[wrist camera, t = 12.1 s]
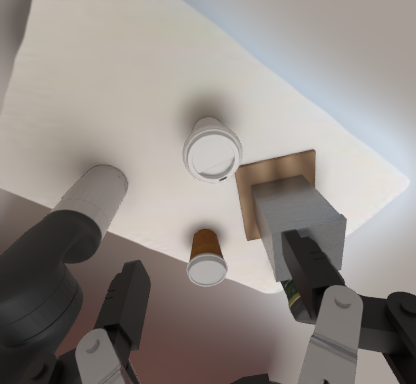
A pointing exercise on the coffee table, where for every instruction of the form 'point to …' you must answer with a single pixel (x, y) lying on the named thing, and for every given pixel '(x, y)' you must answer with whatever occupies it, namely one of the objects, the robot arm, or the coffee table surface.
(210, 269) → the disposable coffee cup
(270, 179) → the walnut board
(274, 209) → the silver block with slot
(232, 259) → the coffee table surface
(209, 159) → the coffee cup
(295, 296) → the coffee jar
